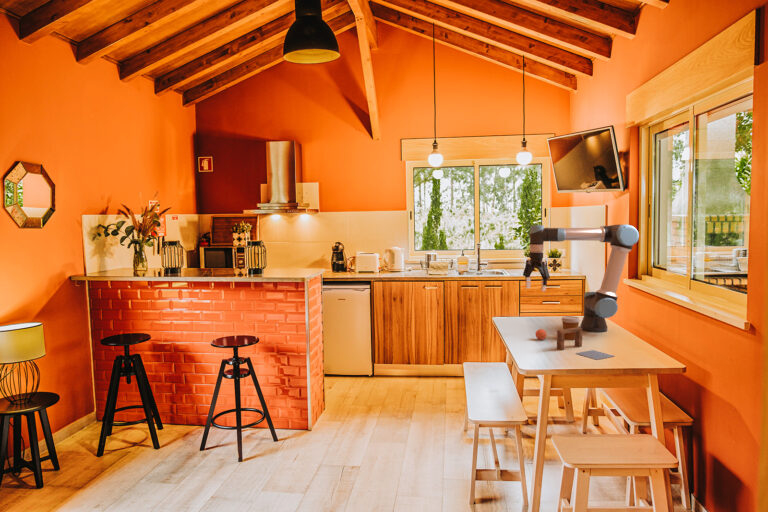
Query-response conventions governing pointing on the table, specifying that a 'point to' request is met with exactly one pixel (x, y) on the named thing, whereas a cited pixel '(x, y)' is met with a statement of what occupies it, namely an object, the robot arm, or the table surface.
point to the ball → (541, 334)
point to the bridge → (561, 332)
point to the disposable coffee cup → (570, 326)
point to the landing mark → (595, 354)
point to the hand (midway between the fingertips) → (535, 289)
